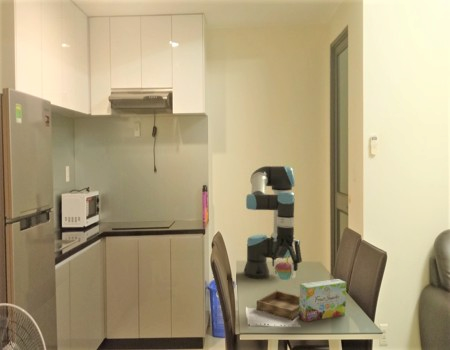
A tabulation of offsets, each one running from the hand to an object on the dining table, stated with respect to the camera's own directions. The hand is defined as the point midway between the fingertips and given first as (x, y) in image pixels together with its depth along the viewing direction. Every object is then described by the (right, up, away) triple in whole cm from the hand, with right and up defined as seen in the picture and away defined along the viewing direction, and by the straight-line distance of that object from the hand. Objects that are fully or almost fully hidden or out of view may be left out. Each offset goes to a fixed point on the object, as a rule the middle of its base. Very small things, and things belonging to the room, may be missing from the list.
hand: (284, 275), depth 172 cm
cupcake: (0, -2, 0) cm, 2 cm away
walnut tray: (0, -15, +1) cm, 15 cm away
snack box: (+15, -16, -7) cm, 24 cm away
